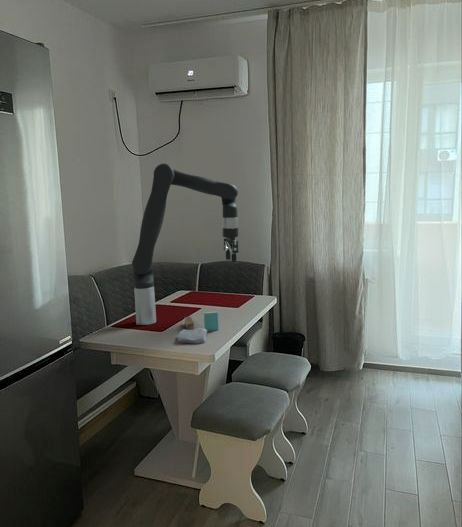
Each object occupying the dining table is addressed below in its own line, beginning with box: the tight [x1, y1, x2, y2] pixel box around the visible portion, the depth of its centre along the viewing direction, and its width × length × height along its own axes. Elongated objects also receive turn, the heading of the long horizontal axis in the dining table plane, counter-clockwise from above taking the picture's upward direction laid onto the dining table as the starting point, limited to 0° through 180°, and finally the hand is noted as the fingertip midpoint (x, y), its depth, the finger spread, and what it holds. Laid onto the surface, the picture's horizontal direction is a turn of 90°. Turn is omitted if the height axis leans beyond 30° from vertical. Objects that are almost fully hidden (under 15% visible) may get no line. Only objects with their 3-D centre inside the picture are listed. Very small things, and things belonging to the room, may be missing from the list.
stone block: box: [177, 327, 208, 345], centre depth 187 cm, size 12×5×10 cm
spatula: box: [184, 316, 195, 330], centre depth 202 cm, size 5×18×4 cm, turn 11°
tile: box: [203, 311, 219, 332], centre depth 199 cm, size 6×2×8 cm, turn 101°
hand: (231, 260), depth 218 cm, fingers open, 8 cm apart
